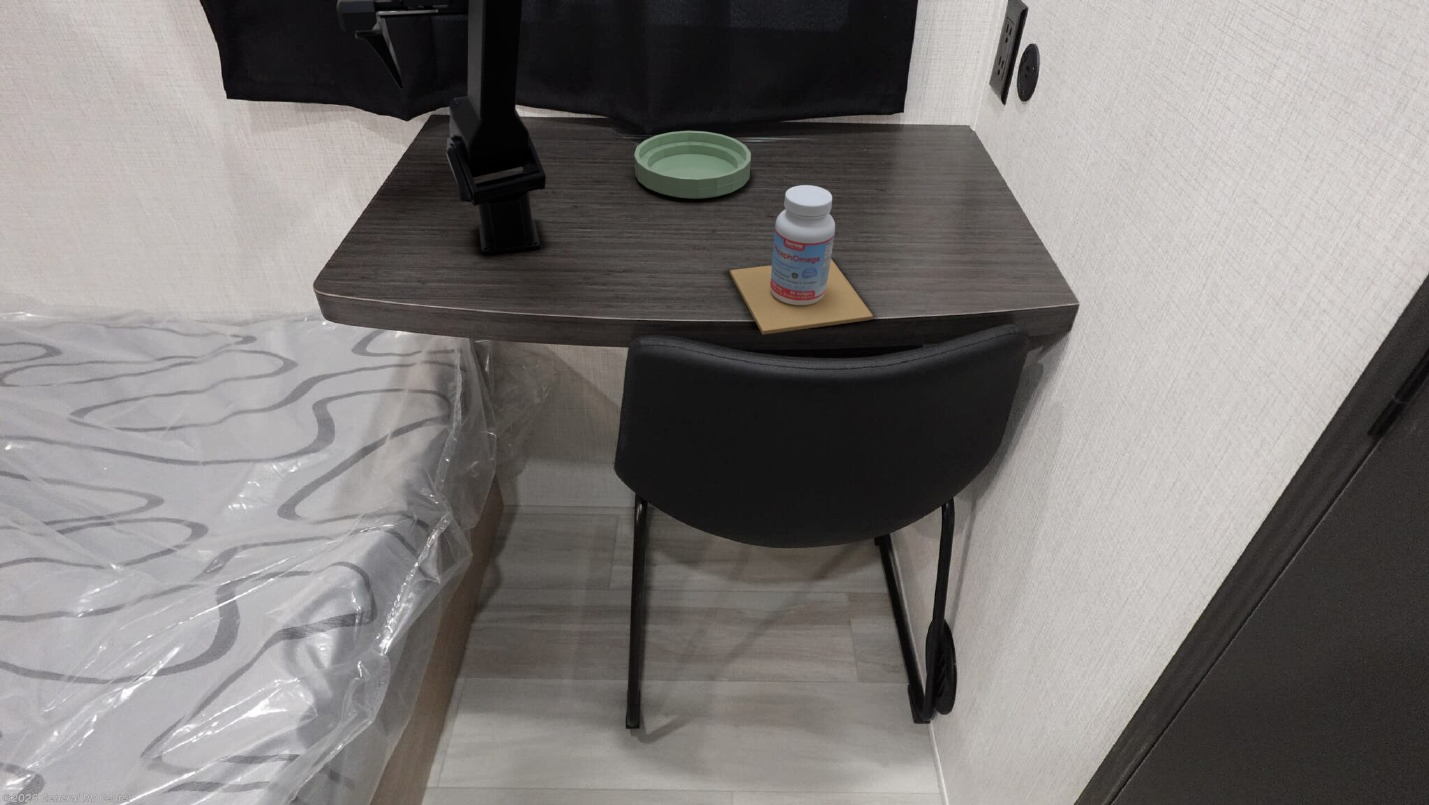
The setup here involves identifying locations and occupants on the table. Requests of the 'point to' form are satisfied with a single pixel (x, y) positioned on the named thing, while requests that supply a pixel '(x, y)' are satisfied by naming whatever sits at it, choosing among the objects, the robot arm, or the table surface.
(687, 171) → the dish
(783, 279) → the pill bottle
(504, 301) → the table surface
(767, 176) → the table surface
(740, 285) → the cork mat
